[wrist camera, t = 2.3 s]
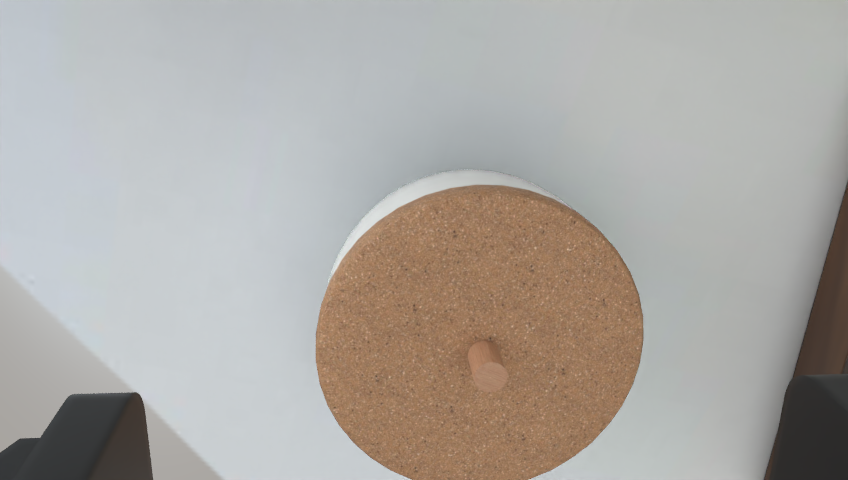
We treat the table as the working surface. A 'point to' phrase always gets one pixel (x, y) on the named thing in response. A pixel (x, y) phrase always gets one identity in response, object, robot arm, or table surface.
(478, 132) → the table surface
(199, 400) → the table surface
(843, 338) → the rail
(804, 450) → the robot arm
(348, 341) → the trinket box
